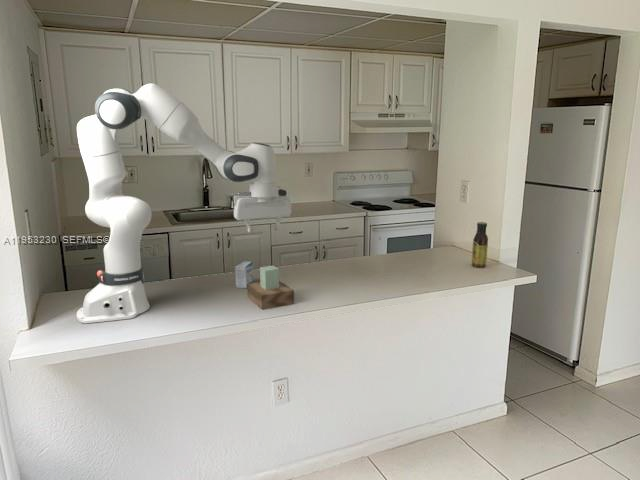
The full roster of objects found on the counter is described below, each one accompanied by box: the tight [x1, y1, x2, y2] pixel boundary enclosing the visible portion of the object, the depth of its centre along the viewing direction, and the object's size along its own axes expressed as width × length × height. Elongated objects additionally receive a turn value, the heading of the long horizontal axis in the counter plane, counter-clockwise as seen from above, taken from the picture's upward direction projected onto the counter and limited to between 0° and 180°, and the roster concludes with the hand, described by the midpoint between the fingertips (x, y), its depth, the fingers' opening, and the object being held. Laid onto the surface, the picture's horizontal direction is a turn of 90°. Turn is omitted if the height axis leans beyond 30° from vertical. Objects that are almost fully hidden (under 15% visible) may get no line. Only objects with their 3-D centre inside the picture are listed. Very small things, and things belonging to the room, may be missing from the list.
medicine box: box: [234, 260, 254, 289], centre depth 186 cm, size 8×4×9 cm, turn 168°
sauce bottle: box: [471, 221, 489, 269], centre depth 210 cm, size 6×6×20 cm
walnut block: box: [246, 280, 295, 310], centre depth 169 cm, size 12×14×5 cm
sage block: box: [259, 265, 280, 290], centre depth 168 cm, size 5×5×7 cm
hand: (263, 231), depth 165 cm, fingers open, 8 cm apart
